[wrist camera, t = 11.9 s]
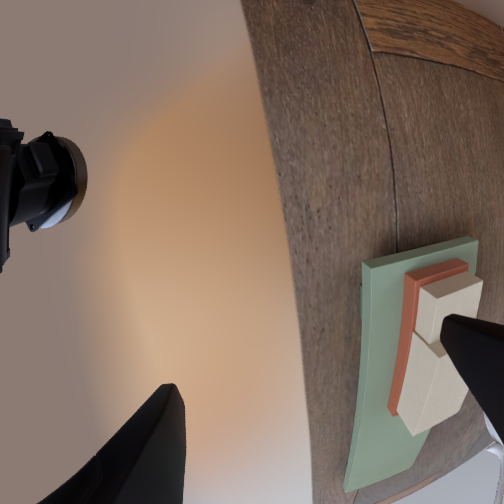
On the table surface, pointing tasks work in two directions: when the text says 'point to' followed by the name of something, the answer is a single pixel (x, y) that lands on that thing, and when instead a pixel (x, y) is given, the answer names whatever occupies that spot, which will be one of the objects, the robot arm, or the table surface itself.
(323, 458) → the table surface
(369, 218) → the table surface
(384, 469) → the flat pale green board
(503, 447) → the pitcher
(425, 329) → the stepped block on base
